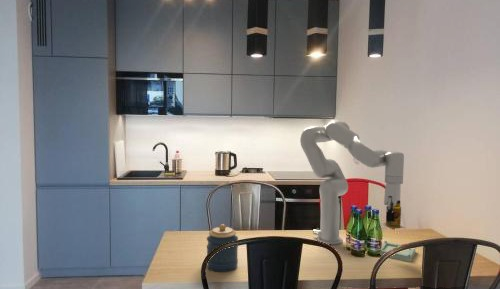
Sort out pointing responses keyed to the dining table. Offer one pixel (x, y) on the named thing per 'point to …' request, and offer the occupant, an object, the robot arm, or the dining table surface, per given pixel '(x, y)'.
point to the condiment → (396, 218)
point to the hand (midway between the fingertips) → (392, 218)
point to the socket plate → (402, 255)
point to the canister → (225, 257)
